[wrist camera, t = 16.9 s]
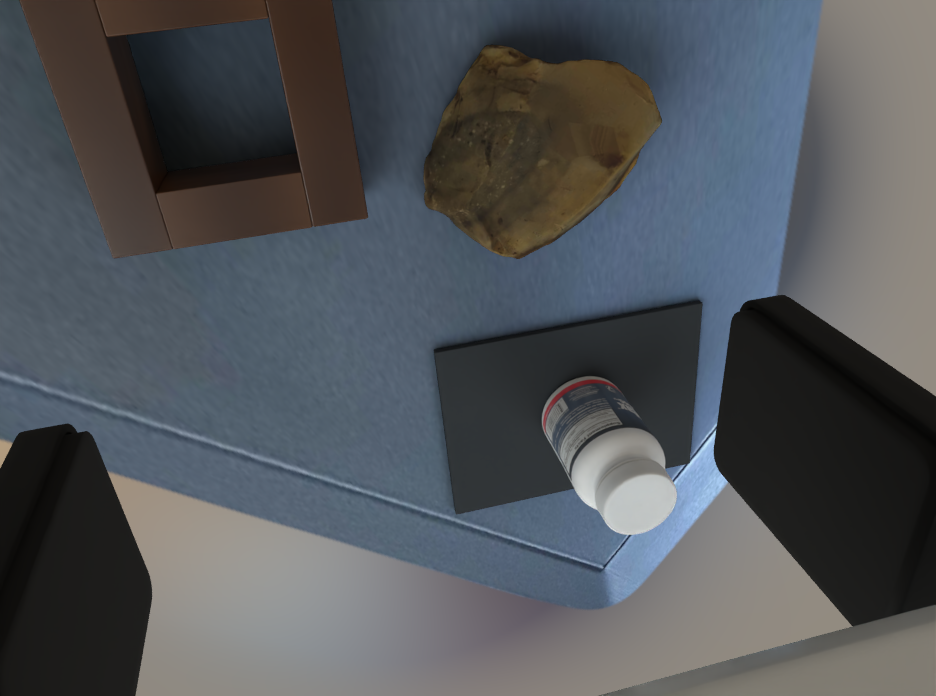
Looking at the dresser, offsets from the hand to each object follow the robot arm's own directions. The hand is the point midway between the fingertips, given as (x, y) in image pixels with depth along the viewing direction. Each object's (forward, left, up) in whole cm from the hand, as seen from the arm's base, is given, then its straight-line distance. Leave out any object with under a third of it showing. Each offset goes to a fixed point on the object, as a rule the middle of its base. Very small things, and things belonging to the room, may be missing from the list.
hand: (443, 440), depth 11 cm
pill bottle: (+11, -19, -26) cm, 34 cm away
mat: (+11, -20, -26) cm, 34 cm away
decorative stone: (+9, -3, -27) cm, 28 cm away
